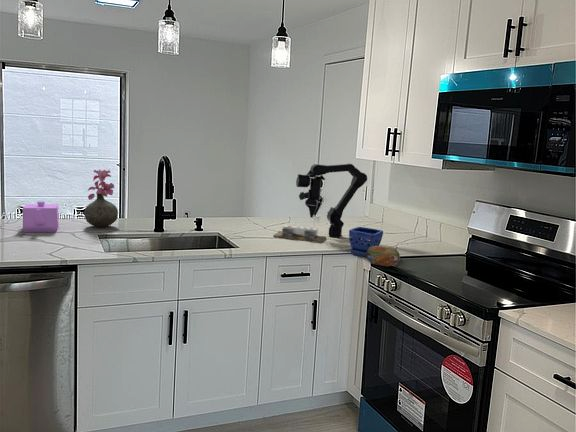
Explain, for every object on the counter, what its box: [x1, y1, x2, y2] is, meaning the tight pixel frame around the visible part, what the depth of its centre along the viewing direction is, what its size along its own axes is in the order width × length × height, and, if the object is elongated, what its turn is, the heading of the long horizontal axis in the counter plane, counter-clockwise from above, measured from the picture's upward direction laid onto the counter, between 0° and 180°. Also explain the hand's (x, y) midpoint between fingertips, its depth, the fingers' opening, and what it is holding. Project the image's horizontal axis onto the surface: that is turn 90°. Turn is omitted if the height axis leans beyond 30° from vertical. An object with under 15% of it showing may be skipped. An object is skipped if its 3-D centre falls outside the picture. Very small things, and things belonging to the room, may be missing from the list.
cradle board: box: [272, 225, 327, 243], centre depth 288 cm, size 26×12×5 cm, turn 76°
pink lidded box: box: [22, 200, 60, 233], centre depth 267 cm, size 15×25×14 cm, turn 19°
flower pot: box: [348, 226, 384, 257], centre depth 258 cm, size 13×13×12 cm
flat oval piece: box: [365, 245, 401, 268], centre depth 240 cm, size 15×3×8 cm, turn 62°
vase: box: [84, 169, 119, 229], centre depth 281 cm, size 17×17×30 cm
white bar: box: [282, 224, 319, 236], centre depth 287 cm, size 18×4×3 cm, turn 76°
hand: (313, 216), depth 293 cm, fingers open, 9 cm apart
